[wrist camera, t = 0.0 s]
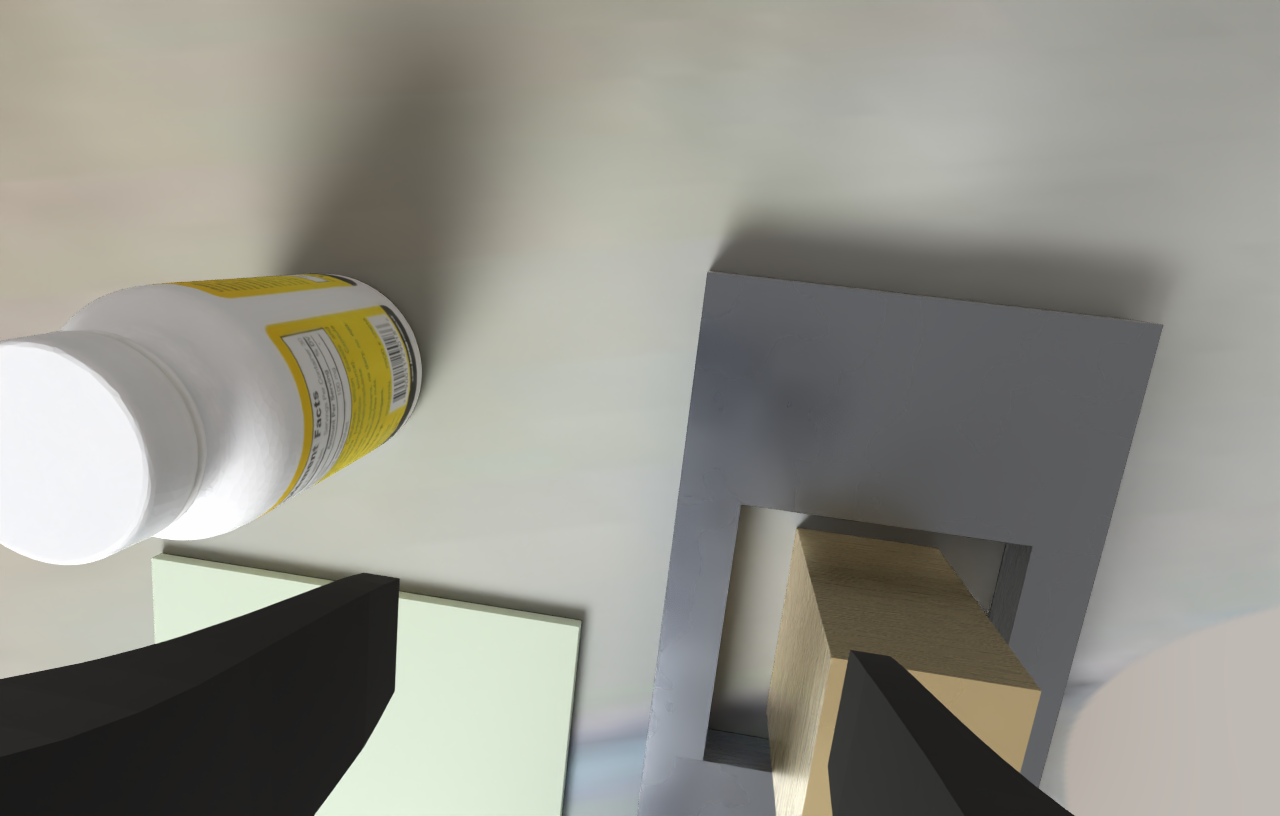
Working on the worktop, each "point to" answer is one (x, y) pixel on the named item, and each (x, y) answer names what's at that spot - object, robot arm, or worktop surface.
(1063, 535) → the iron frame
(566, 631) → the sage mat
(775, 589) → the worktop surface
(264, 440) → the supplement bottle
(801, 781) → the tan rectangular block
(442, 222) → the worktop surface
